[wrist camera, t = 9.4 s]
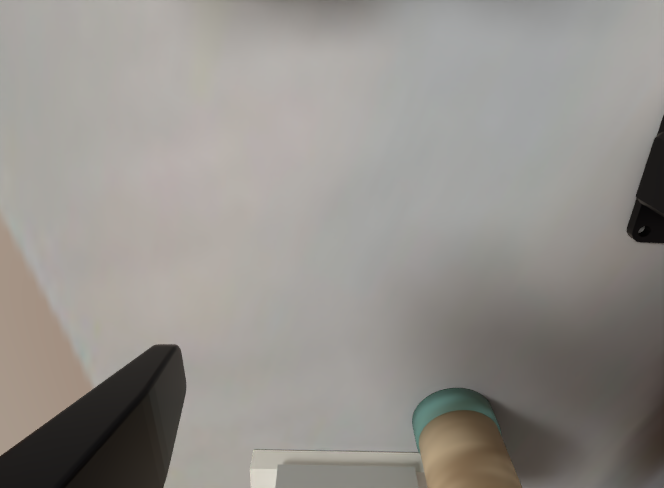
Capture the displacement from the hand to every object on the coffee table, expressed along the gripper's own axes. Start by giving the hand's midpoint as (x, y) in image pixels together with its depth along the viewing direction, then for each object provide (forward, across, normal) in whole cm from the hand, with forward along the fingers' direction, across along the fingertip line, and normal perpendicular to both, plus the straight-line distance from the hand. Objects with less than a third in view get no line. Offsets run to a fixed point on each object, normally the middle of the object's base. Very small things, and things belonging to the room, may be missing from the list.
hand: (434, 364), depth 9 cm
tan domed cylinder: (+12, -5, +14) cm, 19 cm away
